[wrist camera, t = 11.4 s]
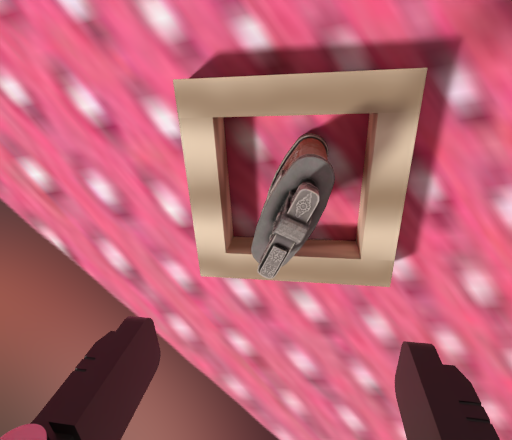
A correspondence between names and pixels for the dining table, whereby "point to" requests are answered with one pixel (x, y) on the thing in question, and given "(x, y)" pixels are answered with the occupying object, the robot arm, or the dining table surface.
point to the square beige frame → (303, 103)
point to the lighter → (293, 204)
